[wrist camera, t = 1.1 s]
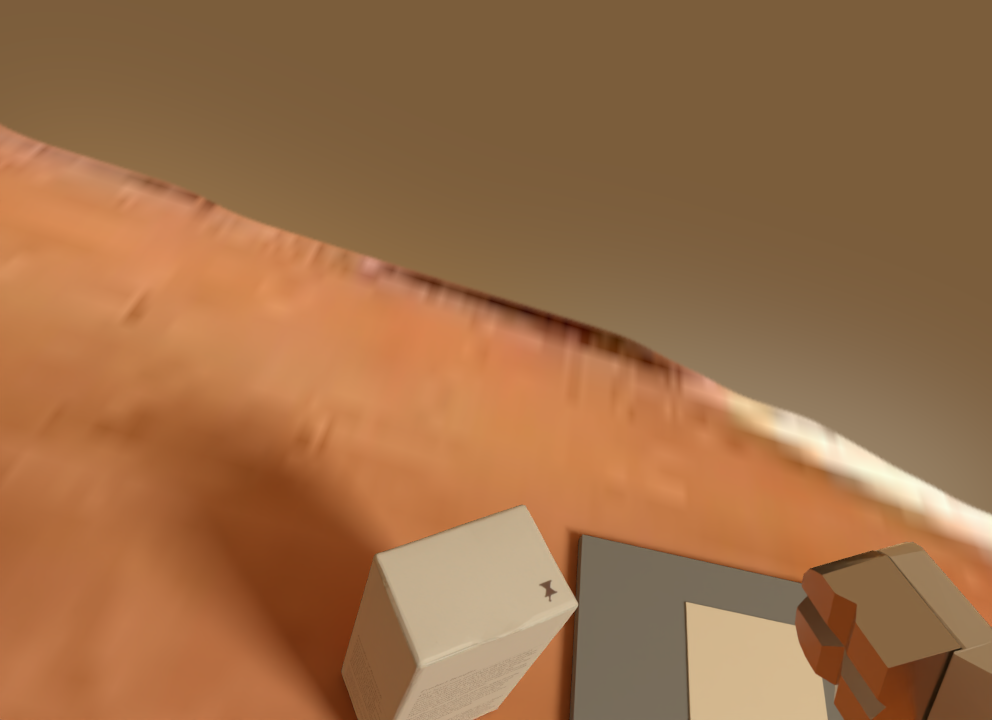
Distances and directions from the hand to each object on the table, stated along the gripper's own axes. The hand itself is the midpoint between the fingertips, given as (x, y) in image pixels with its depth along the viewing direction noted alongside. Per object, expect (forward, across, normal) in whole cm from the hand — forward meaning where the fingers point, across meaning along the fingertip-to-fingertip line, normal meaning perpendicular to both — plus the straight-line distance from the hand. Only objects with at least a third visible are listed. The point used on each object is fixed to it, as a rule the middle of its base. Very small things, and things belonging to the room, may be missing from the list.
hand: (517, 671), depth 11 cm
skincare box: (+16, +2, +24) cm, 29 cm away
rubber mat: (+14, -13, +28) cm, 35 cm away
